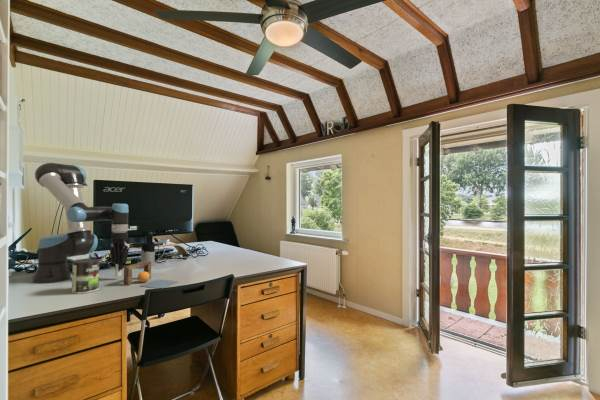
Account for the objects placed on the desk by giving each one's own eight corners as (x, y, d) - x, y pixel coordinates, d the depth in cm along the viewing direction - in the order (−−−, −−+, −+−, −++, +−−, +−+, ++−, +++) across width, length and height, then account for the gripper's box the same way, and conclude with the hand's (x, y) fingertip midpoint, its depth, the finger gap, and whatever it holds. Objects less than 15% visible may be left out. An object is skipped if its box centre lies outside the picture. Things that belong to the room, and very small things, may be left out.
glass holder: (140, 266, 184) (141, 243, 185) (164, 264, 190) (165, 242, 191) (139, 269, 176) (139, 245, 177) (164, 267, 182) (165, 244, 183)
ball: (133, 277, 147) (139, 270, 146) (142, 275, 152) (147, 268, 151) (139, 285, 146) (145, 278, 145) (147, 282, 151) (153, 276, 150)
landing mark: (139, 286, 141) (139, 285, 141) (158, 279, 154) (158, 279, 154) (160, 288, 137) (160, 288, 137) (178, 281, 150) (178, 281, 150)
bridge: (123, 284, 143) (123, 266, 143) (146, 277, 157) (146, 261, 157) (128, 285, 142) (128, 267, 142) (150, 278, 156) (151, 261, 156)
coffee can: (104, 288, 137) (105, 259, 137) (84, 294, 127) (85, 263, 127) (86, 286, 139) (87, 257, 139) (65, 292, 129) (66, 261, 129)
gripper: (104, 232, 151) (102, 276, 151) (123, 233, 148) (121, 278, 148) (116, 230, 159) (115, 273, 158) (135, 231, 155) (134, 275, 155)
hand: (118, 275), depth 153 cm, fingers closed
